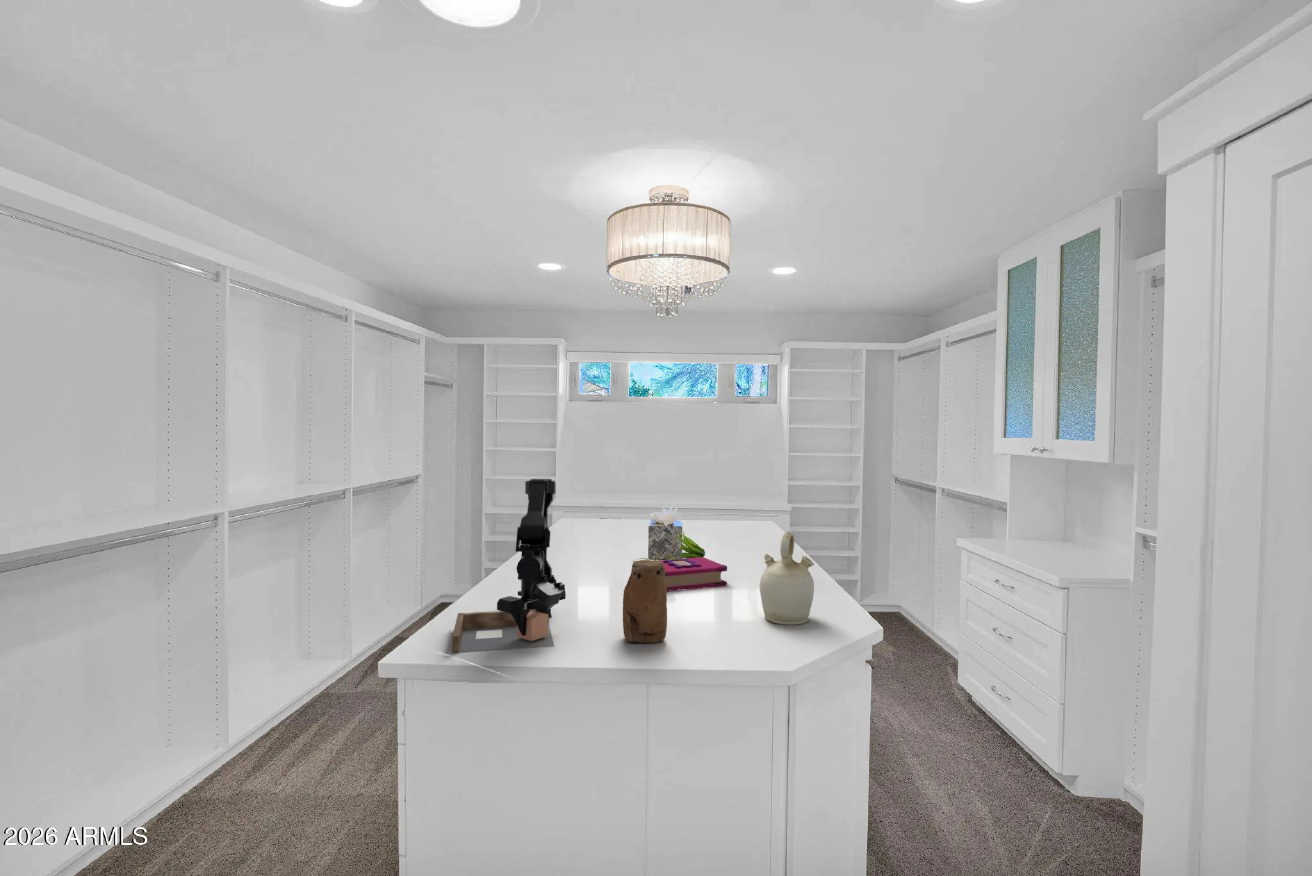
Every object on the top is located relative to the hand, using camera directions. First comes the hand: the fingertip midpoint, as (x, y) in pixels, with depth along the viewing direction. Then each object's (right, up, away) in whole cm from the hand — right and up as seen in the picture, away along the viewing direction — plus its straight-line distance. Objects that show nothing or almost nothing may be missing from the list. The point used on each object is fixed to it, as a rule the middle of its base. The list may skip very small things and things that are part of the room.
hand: (532, 632), depth 164 cm
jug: (+69, -3, +21) cm, 72 cm away
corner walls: (-7, -2, +1) cm, 8 cm away
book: (+40, -3, +65) cm, 76 cm away
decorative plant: (+38, -2, +100) cm, 107 cm away
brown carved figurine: (+29, -2, +1) cm, 29 cm away
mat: (-7, -2, +1) cm, 8 cm away
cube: (0, -1, 0) cm, 1 cm away
